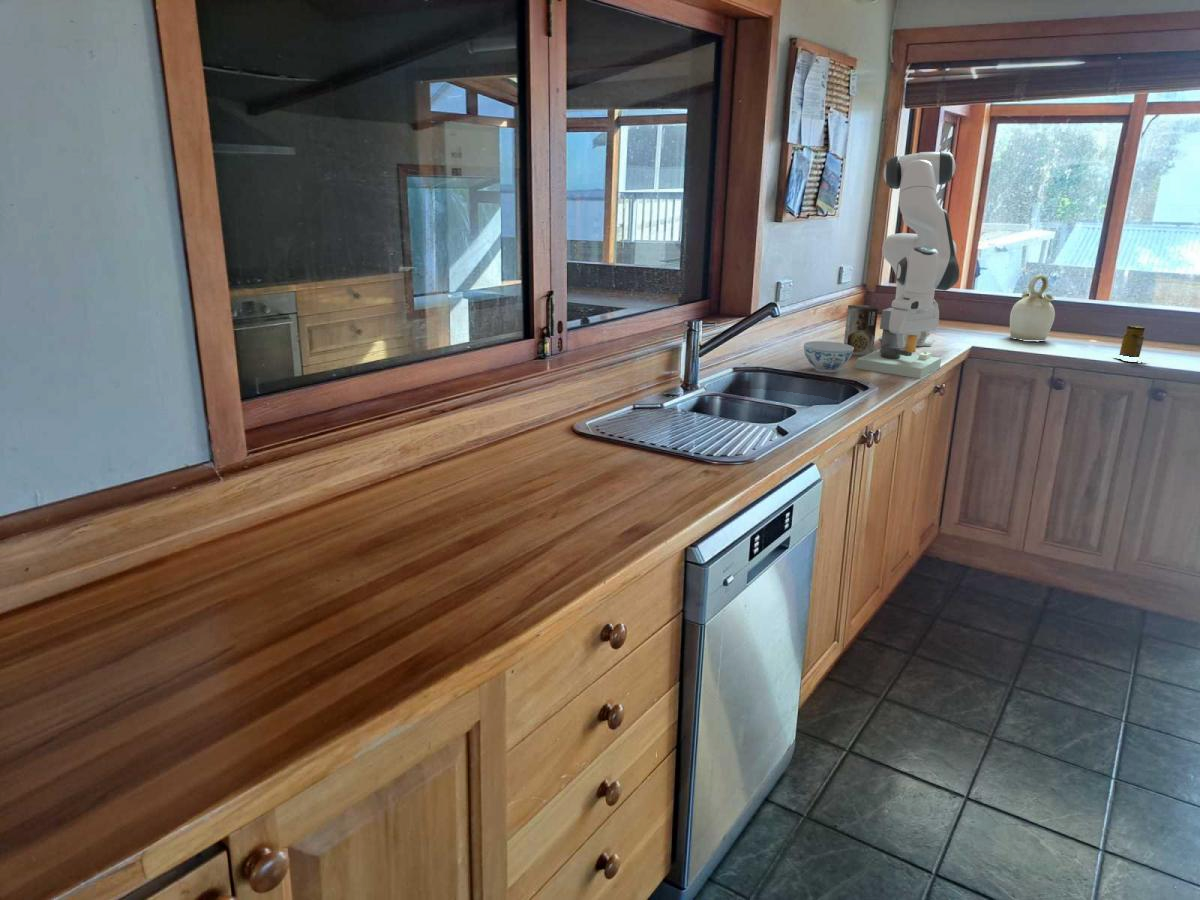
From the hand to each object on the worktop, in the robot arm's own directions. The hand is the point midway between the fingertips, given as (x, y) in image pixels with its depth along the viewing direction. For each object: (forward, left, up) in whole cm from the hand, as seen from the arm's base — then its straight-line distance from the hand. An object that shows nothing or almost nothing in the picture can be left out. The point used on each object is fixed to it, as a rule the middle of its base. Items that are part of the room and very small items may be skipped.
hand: (911, 346), depth 265 cm
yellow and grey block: (-1, -4, -5) cm, 6 cm away
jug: (-94, +18, -8) cm, 97 cm away
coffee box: (-15, -22, -8) cm, 28 cm away
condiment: (-75, +54, -8) cm, 93 cm away
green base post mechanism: (-2, -4, -8) cm, 9 cm away
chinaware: (+19, -20, -8) cm, 28 cm away
